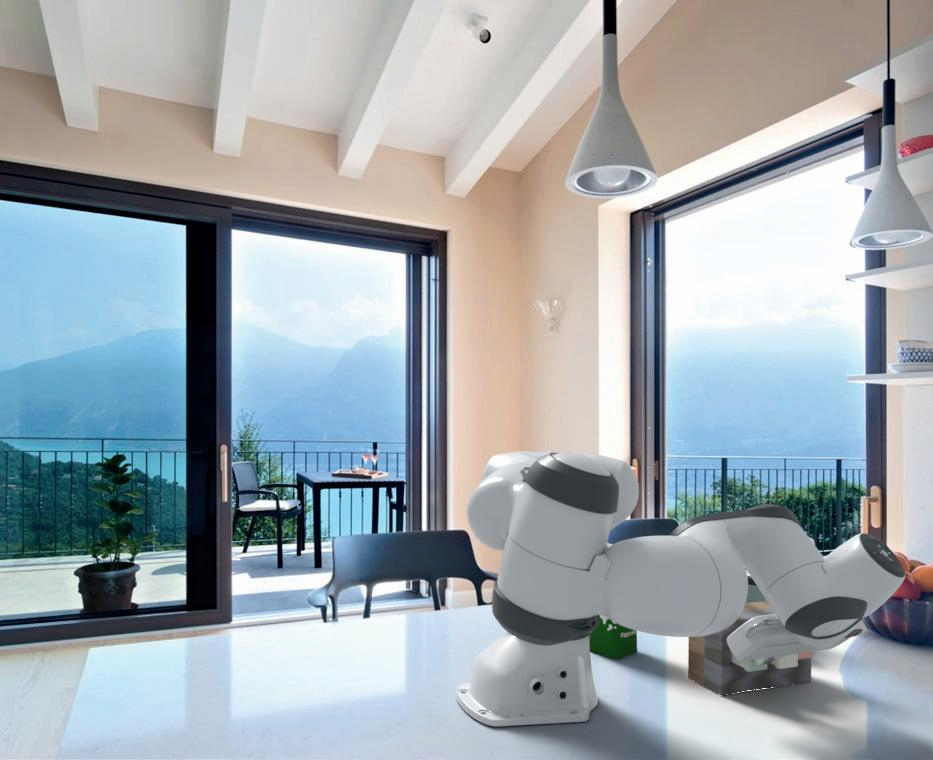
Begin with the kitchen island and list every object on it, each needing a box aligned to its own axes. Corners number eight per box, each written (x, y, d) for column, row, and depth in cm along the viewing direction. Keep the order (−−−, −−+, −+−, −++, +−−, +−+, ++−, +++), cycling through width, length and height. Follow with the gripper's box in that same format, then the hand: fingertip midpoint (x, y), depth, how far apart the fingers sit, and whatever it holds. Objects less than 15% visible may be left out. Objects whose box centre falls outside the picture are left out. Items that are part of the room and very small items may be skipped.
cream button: (779, 669, 109) (779, 643, 110) (756, 658, 114) (756, 634, 114) (797, 666, 111) (797, 641, 111) (774, 656, 115) (774, 632, 115)
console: (721, 696, 110) (722, 621, 111) (688, 678, 117) (688, 608, 118) (811, 682, 117) (811, 612, 118) (774, 666, 125) (774, 600, 126)
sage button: (748, 671, 108) (748, 646, 108) (726, 661, 112) (726, 637, 112) (767, 669, 109) (767, 643, 109) (744, 659, 114) (745, 634, 114)
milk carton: (619, 662, 124) (621, 553, 125) (578, 649, 131) (581, 545, 132) (644, 652, 130) (645, 547, 131) (604, 640, 137) (606, 540, 138)
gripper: (772, 641, 93) (720, 687, 102) (875, 628, 101) (819, 672, 109) (747, 600, 98) (700, 647, 106) (848, 591, 105) (796, 635, 114)
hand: (761, 659), depth 108 cm, fingers closed, pressing on sage button
